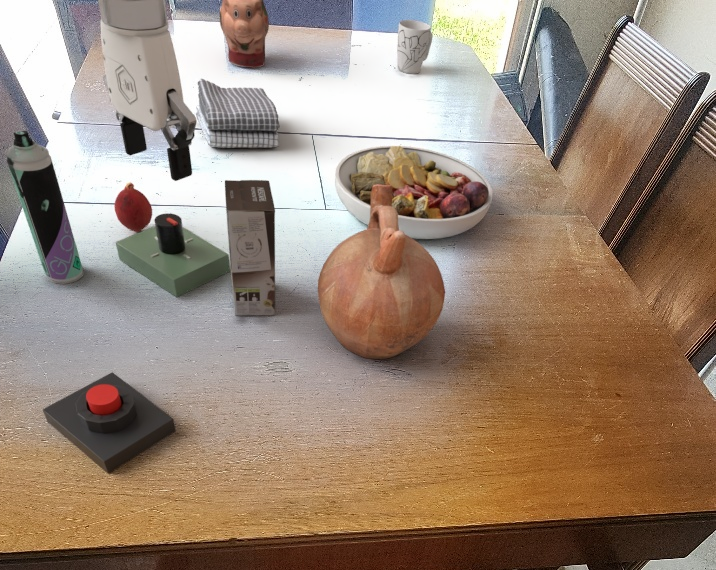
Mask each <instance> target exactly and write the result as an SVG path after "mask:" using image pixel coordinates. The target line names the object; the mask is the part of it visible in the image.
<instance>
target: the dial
mask: <svg viewBox="0 0 716 570" xmlns="http://www.w3.org/2000/svg"><path fill="white" fill-rule="evenodd" d="M153 221H154V226H155V227H156V233H157V238H158V244H159V249H160V251H161V252H163V253H166V254H179V253H181V252H183V251H184V250H185V241H184V234H183V221H182V217H180V216H179V215H178V214H175V213H168V212H167V213H161V214H158V215H157V216H155V218H154V220H153Z"/></svg>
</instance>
